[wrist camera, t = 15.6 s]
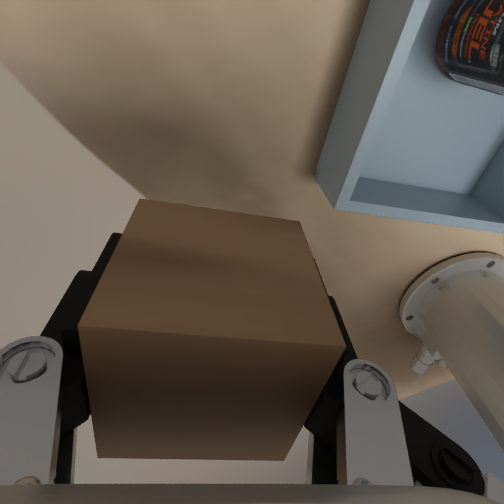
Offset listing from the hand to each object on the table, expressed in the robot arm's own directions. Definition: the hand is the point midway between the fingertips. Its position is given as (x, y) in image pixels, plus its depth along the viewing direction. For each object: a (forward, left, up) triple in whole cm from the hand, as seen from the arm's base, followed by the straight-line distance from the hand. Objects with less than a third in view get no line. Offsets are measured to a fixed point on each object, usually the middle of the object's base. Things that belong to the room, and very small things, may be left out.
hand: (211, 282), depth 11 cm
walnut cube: (0, 0, -1) cm, 1 cm away
